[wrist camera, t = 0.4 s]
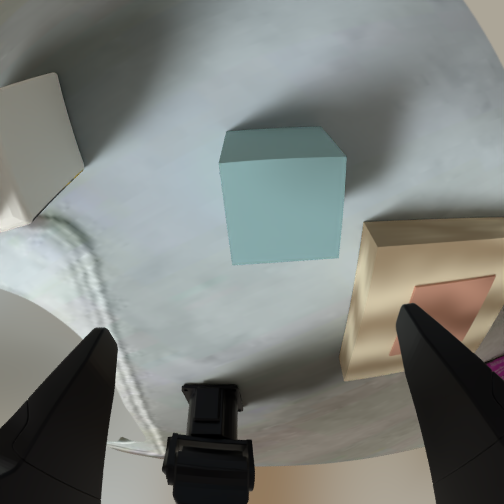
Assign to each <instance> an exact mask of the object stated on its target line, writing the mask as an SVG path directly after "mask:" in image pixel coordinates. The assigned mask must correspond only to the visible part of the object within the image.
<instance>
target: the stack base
mask: <svg viewBox="0 0 504 504" xmlns="http://www.w3.org/2000/svg"><path fill="white" fill-rule="evenodd" d="M408 303H415V304H417V305H418V306H419V307H421V308H422V309H423V310H424V311H425V312H427V313H428V314H429V315H430V316H431V317H433V318H434V319H435V320H436V321H437V322H439V323H440V324H441V325H442V326H443V327H444V328H446V329H447V330H448V331H449V332H450V333H451V334H453V335H454V336H455V337H456V338H457V339H458V340H460V341H461V342H462V343H463V344H464V345H465V346H466V347H468V348H469V349H470V350H471V351H472V352H473V353H475V351H476V350H477V348H478V347H479V345H480V344H481V342H482V340H483V339H484V337H485V336H486V334H487V332H488V331H489V329H490V327H491V326H492V324H493V322H494V321H495V319H496V317H497V315H498V314H499V312H500V310H501V308H502V306H503V305H504V217H484V218H449V219H421V220H397V221H375V222H364V223H363V231H362V238H361V245H360V251H359V258H358V264H357V270H356V276H355V282H354V287H353V293H352V298H351V303H350V308H349V313H348V318H347V323H346V328H345V332H344V337H343V341H342V346H341V350H340V354H339V360H340V365H341V369H342V374H343V378H344V381H350V380H357V379H364V378H370V377H376V376H382V375H387V374H392V373H398V372H403V371H404V366H403V361H402V356H401V351H400V346H399V341H398V337H397V332H396V321H397V317H398V314H399V311H400V308H401V306H402V305H403V304H408Z"/></svg>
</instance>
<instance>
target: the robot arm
mask: <svg viewBox="0 0 504 504" xmlns="http://www.w3.org/2000/svg"><path fill="white" fill-rule="evenodd" d="M396 332H397V337H398V341H399V346H400V351H401V356H402V361H403V366H404V371H405V375H406V378H407V382H408V385H409V388H410V392H411V395H412V399H413V402H414V406H415V409H416V413H417V417H418V421H419V425H420V428H421V432H422V436H423V441H424V445H425V449H426V453H427V458H428V462H429V467H430V472H431V476H432V482H433V488H434V493H435V499H436V504H504V380H503V379H502V378H501V377H500V376H499V375H498V374H496V373H495V372H494V371H492V369H491V368H490V367H489V366H488V365H486V364H485V363H484V362H483V361H482V360H481V359H480V358H479V357H478V356H477V355H475V354H474V353H473V352H472V351H471V350H470V349H469V348H468V347H466V346H465V345H464V344H463V343H462V342H461V341H460V340H458V339H457V338H456V337H455V336H454V335H453V334H451V333H450V332H449V331H448V330H447V329H446V328H444V327H443V326H442V325H441V324H440V323H439V322H437V321H436V320H435V319H434V318H433V317H431V316H430V315H429V314H428V313H427V312H425V311H424V310H423V309H422V308H421V307H419V306H418V305H417V304H415V303H408V304H403V305H402V306H401V308H400V311H399V314H398V317H397V321H396ZM117 353H118V347H117V343H116V342H115V340H114V338H113V337H112V335H111V333H110V332H109V330H108V329H107V328H94V329H93V330H92V331H91V332H90V333H89V334H88V335H87V336H86V337H85V338H84V339H83V340H82V341H81V342H80V343H79V345H77V346H76V347H75V349H74V350H73V351H72V352H71V353H70V354H69V355H68V356H67V357H66V358H65V359H64V360H63V361H62V362H61V364H59V365H58V367H57V368H56V369H55V370H54V371H53V372H52V373H51V374H50V375H49V376H48V377H47V378H46V379H45V381H44V382H43V383H42V384H41V385H40V386H39V387H38V388H37V389H36V390H35V392H34V393H33V394H32V395H31V396H30V397H29V398H28V400H27V401H26V402H25V403H24V404H23V405H22V406H21V408H19V409H18V411H17V412H16V413H15V414H14V415H13V416H12V417H11V418H10V419H9V420H8V421H7V422H6V423H5V424H4V425H3V426H2V427H1V428H0V504H101V500H100V499H101V491H102V478H103V468H104V460H105V459H104V458H105V451H106V443H107V436H108V428H109V421H110V414H111V409H112V403H113V396H114V389H115V377H116V364H117ZM182 392H183V394H184V395H185V397H186V399H187V401H188V403H189V412H188V422H187V433H186V435H180V434H178V433H173V436H172V437H168V440H167V448H166V453H165V457H164V462H163V467H162V471H163V472H164V474H165V475H166V479H167V482H168V485H173V497H174V500H175V502H176V504H247V503H248V500H249V491H252V490H253V488H254V481H255V468H254V458H253V447H252V440H237V414H238V412H241V411H243V405H242V400H241V396H240V392H239V387H238V386H237V385H183V386H182ZM179 450H180V451H179Z"/></svg>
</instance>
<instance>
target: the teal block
mask: <svg viewBox="0 0 504 504" xmlns="http://www.w3.org/2000/svg"><path fill="white" fill-rule="evenodd" d="M346 160H347V157H346V155H345V154H344V153H343V152H342V151H341V149H340V148H339V147H338V146H337V145H336V144H335V142H334V141H333V140H332V139H331V138H330V137H329V135H328V134H327V133H326V132H325V131H324V130H323V129H322V128H321V127H288V128H267V129H252V130H239V131H227V132H226V135H225V139H224V144H223V148H222V152H221V156H220V160H219V169H220V177H221V185H222V192H223V200H224V208H225V215H226V223H227V230H228V237H229V245H230V252H231V259H232V265H245V264H260V263H275V262H290V261H304V260H318V259H332V258H339V249H340V239H341V229H342V218H343V206H344V193H345V178H346Z"/></svg>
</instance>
